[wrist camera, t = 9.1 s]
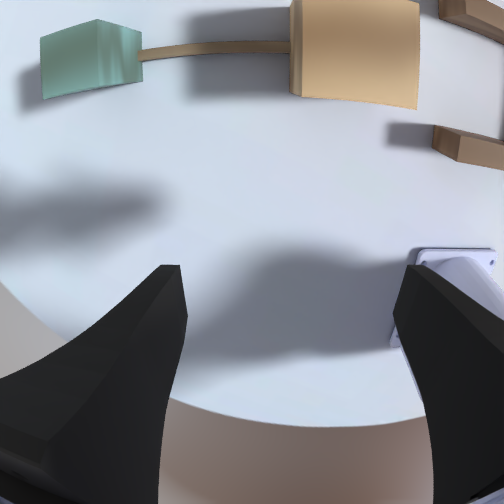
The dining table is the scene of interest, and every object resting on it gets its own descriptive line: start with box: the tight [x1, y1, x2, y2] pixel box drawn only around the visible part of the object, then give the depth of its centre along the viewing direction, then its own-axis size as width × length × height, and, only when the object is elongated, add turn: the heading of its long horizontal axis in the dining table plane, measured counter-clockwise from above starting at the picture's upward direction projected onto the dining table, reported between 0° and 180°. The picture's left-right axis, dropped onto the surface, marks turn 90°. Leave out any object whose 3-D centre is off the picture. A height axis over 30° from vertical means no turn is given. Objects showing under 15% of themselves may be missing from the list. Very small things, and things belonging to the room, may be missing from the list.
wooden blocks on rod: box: [40, 0, 420, 110], centre depth 12 cm, size 5×16×6 cm, turn 90°
